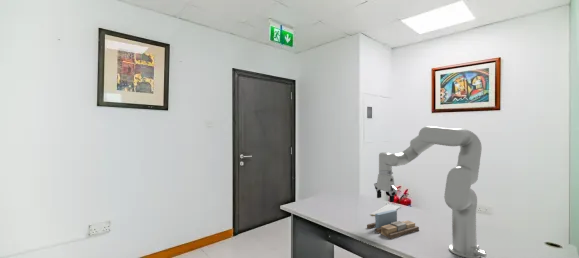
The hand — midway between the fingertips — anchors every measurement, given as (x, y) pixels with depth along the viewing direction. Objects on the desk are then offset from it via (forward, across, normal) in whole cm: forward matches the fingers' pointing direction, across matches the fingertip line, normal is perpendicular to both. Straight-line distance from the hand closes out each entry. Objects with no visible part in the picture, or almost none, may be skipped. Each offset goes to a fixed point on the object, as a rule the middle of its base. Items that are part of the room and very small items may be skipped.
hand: (385, 199), depth 151 cm
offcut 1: (+16, -10, +8) cm, 21 cm away
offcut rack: (+16, -5, 0) cm, 17 cm away
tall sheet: (+16, -1, 0) cm, 17 cm away
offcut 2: (+16, -10, 0) cm, 19 cm away
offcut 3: (+16, -10, -8) cm, 21 cm away
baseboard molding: (+18, +20, -23) cm, 36 cm away
